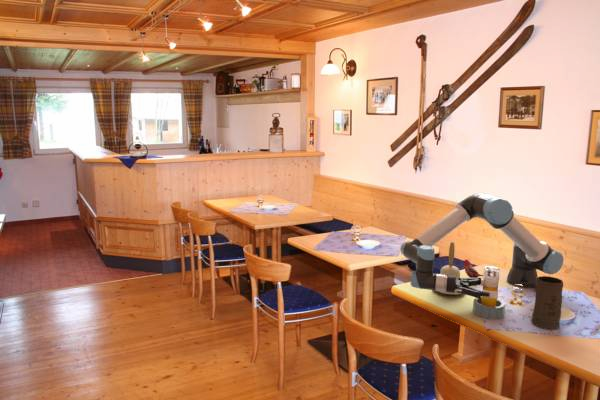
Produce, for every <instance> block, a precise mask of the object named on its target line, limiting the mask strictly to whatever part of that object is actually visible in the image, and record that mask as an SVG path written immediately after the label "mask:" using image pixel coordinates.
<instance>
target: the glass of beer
mask: <svg viewBox="0 0 600 400" xmlns="http://www.w3.org/2000/svg"><path fill="white" fill-rule="evenodd" d="M482 280H483V279H482ZM499 282H500V281H498V278H497V277H494V276H485V278H484V280H483V286H482V290H487V291H495V292H498V293H499ZM496 302H497V298H489V297H482V302H481V304H482V305H485V306H489V307H496Z"/></svg>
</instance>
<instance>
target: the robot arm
mask: <svg viewBox="0 0 600 400" xmlns="http://www.w3.org/2000/svg"><path fill="white" fill-rule="evenodd" d="M475 218H479V219H481V220H484V221H486V222H487V223H488V224H489V225H490V226H491V227H492V228H493V229H495V230H500V231H502V233H503V234H504V235H506V237H507V238H509V240H511V241H512V242H513V247H512V249H513V250H512V259H511V260H512V261H511V268H510V269H509V271H508V274H507V276H506V282H508V284H511V285H514V284H522V285H523V288H536V284H537V283H536V281H537V278H538V277H539V275H538V271H541V272H542V273H544V274H548V275H555V274H557V273H559V271H561V269H562V267H563V266H564V265H563V264H564V260H565V258H564V256H563V255H564V254H562V253H561V252H560V251H558V250H555V249H553V248H552V247H551V246H550V245H549V244H548V243H547V242H545V241H542V240H539V239H538V238H537V237H536V236H535V235H534V234H533V233H531V231H530V230H529V229H528V228H527V227H525V226H524V224H523V223H521V222H520V221H519V220H518V219H517V218H516V217H515V213H514V211H513V206H512V204H511V203H510V202H509V201H508V200H507V199H504V198H502V197H500V196H493V195H490V194H487V193H482V192H481V193H480V192H479V193H478V192H477V193H474V194H472V195H470V196H467V197H466V198H464V199H463V200H461V201H459V202H458V203H457V204H455V206H454V209H453V210H451V211H450V212H449V213H447V214H446V215H445V216H444V217H442V218H441V219H440V220H438V221H437V222H435V223H434V224H433V225H431V226H430V227H429V228H427V229H426V230H425V231H424V232H422V233H421V234H420V235H418V236H417V237H415V238H414V239H413V240H412V241H409V240H407V241H404V242H403V243H402V244H401V245H400V247H399V250H400V253H401V255H403V257H405V258H406V259H408V260H409V261H412V263H415V264H416V265H415V270H413V271H412V270H411V274H410V286H411V287H413V288H414V289H415V288H416V289H421V290H428V291H430V290H431V291H436V292H439V293H441V292H440V291H445V290H446V291H447V292H451V293H454V292H455V289H456V290H457V293H462V294H463V295H467V296H469V297H472V298H473V297H474V298H479V299H480V298H481V297H489V298H497V299H498V300H499V291H498V292H495V291H487V290H483V289H480V290H479V289H478V288H476V287H475V286H481V287H483V279H482V277H481V276H479V277H477V278H470V277H460V278H458V280H456V276H452V275H448V276H446V275H444V274H440V273H434V264H435V258H436V256H435V248H434V245H436V244H437V243H438V242H439V241H440V242H441V240H442V239H444V238H445V237H446V236H447V235H449V234H450V233H452V232H453V231H454V230H455V229H457V228H458V227H459V226H461V225H462V224H463V223H465V222H469V221H471V220H473V219H475ZM537 270H538V271H537ZM514 286H515V285H514ZM462 294H461V295H462Z"/></svg>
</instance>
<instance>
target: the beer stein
mask: <svg viewBox="0 0 600 400" xmlns="http://www.w3.org/2000/svg"><path fill="white" fill-rule="evenodd" d="M536 283H537V284H536V287H535V291H534V292H535V294H534V295H535V301H534V306H533V307H534V308H533V311H532V314H531V319H530V322H531V324H533V325H534V326H535V327H537V328H540V329H544V330H557V329H559V328H560V326H561V325H560V321H561V317H562V316H561V315H562V303H563V289H564V281H563V279H561V278H557V277H555V276H549V275H548V276H547V275H542V276H538V278H537V281H536Z"/></svg>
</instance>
